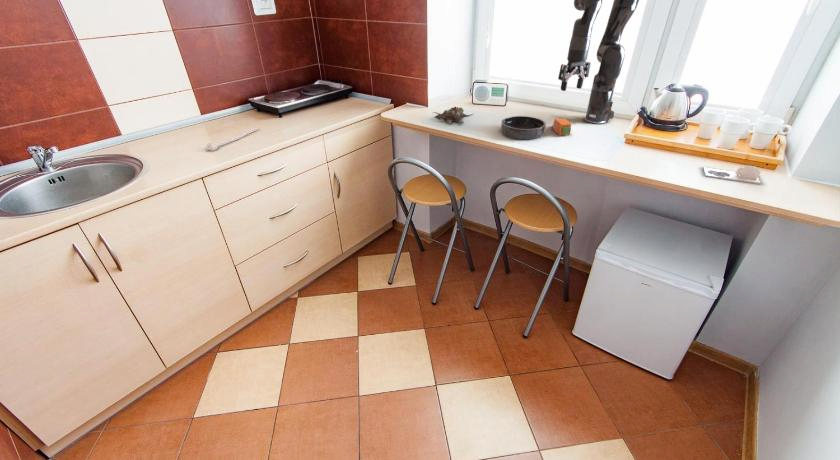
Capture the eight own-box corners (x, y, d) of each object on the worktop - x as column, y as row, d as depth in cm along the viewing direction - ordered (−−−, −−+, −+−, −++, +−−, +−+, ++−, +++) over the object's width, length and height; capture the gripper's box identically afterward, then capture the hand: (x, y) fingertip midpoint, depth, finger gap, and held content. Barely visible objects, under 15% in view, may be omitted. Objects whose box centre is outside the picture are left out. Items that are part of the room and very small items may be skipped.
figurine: (430, 113, 178) (433, 104, 192) (431, 126, 181) (433, 116, 196) (474, 111, 176) (473, 101, 190) (474, 124, 179) (473, 113, 193)
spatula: (253, 129, 182) (251, 123, 181) (259, 130, 181) (258, 124, 179) (205, 150, 161) (203, 143, 159) (212, 151, 159) (210, 144, 158)
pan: (536, 125, 178) (538, 115, 175) (550, 139, 162) (551, 128, 160) (496, 126, 177) (497, 116, 175) (506, 141, 162) (507, 130, 159)
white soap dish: (755, 176, 129) (762, 163, 127) (760, 184, 124) (766, 171, 122) (703, 168, 135) (708, 156, 133) (705, 176, 130) (710, 163, 128)
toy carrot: (550, 126, 175) (552, 116, 173) (560, 126, 175) (562, 116, 173) (560, 136, 165) (562, 125, 162) (570, 136, 165) (573, 125, 162)
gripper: (572, 50, 151) (564, 93, 160) (599, 47, 156) (590, 89, 164) (558, 48, 156) (552, 89, 165) (585, 45, 161) (577, 85, 170)
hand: (571, 89), depth 165 cm, fingers open, 8 cm apart
